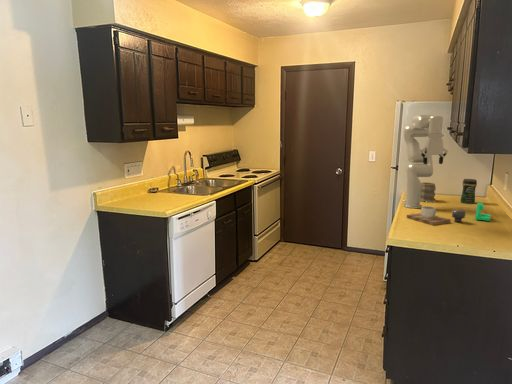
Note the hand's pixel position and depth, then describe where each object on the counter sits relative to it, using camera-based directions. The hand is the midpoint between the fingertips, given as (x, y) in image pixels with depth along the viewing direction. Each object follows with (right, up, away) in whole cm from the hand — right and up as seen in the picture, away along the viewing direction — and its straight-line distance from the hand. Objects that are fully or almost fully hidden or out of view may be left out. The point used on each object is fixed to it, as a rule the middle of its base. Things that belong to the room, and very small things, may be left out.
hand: (432, 163), depth 229 cm
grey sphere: (+14, -36, -3) cm, 39 cm away
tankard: (+21, -25, +63) cm, 71 cm away
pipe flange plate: (-3, -35, +1) cm, 35 cm away
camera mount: (+33, -35, +3) cm, 48 cm away
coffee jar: (+53, -26, +53) cm, 79 cm away
